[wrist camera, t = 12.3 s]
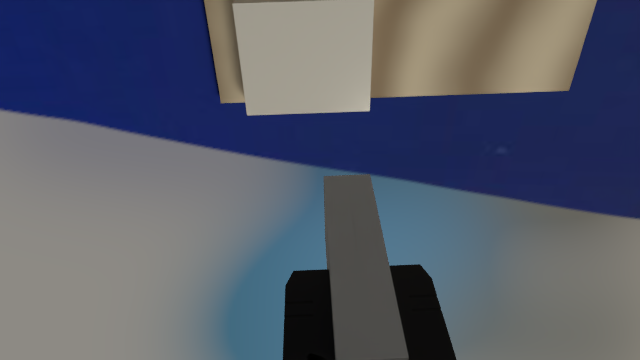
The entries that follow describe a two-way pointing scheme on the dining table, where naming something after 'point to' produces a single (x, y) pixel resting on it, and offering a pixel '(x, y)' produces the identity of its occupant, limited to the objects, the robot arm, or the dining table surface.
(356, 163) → the dining table surface
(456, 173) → the dining table surface
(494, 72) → the board
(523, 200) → the dining table surface
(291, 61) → the tile
